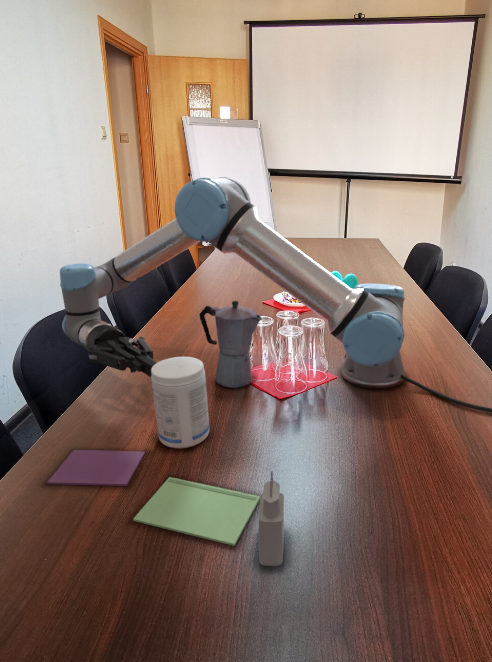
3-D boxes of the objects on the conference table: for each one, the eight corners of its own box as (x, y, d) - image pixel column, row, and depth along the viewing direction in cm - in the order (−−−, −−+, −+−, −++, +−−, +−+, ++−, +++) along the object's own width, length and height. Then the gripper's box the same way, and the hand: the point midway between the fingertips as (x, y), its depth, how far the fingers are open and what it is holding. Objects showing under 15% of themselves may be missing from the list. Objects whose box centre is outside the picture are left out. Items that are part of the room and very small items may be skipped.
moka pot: (257, 392, 105) (256, 308, 98) (194, 385, 108) (188, 304, 101) (268, 375, 114) (267, 297, 107) (209, 369, 116) (205, 293, 110)
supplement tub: (202, 418, 94) (197, 352, 89) (216, 442, 86) (211, 371, 81) (153, 429, 90) (146, 360, 85) (163, 456, 82) (155, 381, 77)
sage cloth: (260, 498, 72) (260, 495, 72) (234, 546, 63) (234, 543, 62) (169, 478, 76) (169, 476, 76) (133, 521, 67) (132, 518, 67)
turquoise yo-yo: (336, 292, 187) (337, 268, 184) (358, 296, 182) (360, 272, 179) (323, 298, 180) (324, 273, 176) (346, 302, 174) (347, 276, 171)
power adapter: (258, 565, 60) (257, 489, 56) (261, 533, 65) (260, 462, 61) (282, 565, 60) (282, 490, 56) (283, 534, 65) (284, 462, 61)
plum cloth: (145, 453, 82) (145, 451, 82) (126, 486, 74) (126, 484, 74) (73, 451, 83) (73, 449, 83) (47, 484, 74) (46, 482, 74)
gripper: (131, 347, 111) (186, 378, 95) (76, 362, 102) (126, 399, 87) (128, 318, 108) (183, 345, 93) (71, 331, 99) (122, 363, 84)
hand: (156, 371), depth 90 cm, fingers closed
